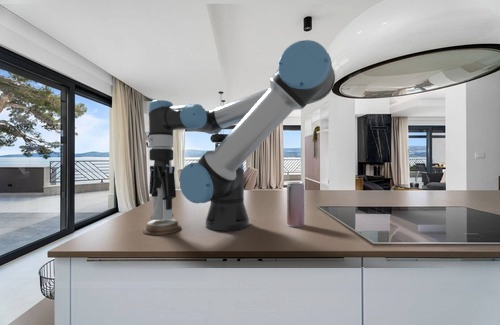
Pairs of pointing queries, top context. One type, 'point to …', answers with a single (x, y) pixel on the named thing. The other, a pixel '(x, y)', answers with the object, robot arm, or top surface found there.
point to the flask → (159, 206)
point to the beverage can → (295, 204)
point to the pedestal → (161, 227)
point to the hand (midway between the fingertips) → (162, 217)
